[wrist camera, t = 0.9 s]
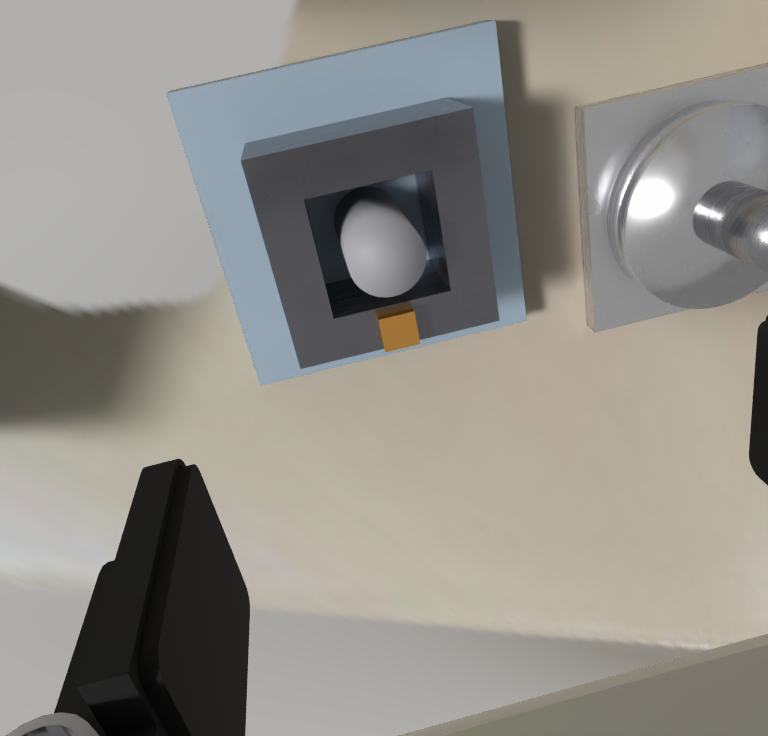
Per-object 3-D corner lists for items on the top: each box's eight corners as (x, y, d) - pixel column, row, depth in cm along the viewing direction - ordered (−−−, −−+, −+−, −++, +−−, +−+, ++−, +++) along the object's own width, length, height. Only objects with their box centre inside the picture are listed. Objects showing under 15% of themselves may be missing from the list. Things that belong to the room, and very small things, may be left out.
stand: (170, 90, 23) (140, 108, 17) (485, 20, 23) (549, 16, 18) (261, 372, 28) (258, 452, 22) (517, 309, 28) (573, 373, 23)
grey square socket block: (244, 143, 23) (239, 164, 19) (445, 97, 23) (478, 109, 19) (297, 328, 26) (301, 377, 22) (472, 286, 26) (505, 327, 22)
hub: (574, 107, 25) (664, 129, 19) (803, 55, 25) (957, 61, 20) (587, 325, 29) (663, 395, 23) (783, 276, 29) (905, 334, 24)
